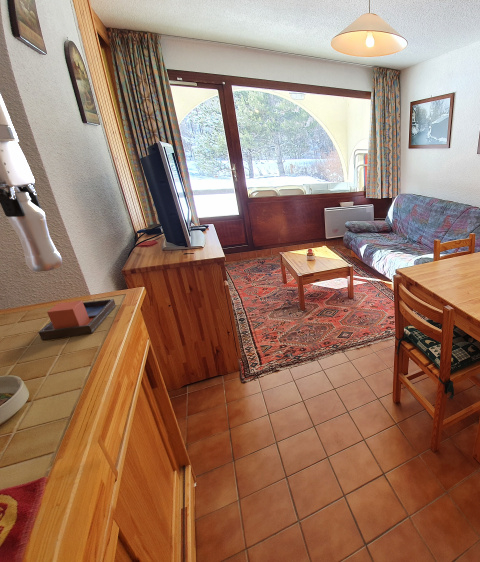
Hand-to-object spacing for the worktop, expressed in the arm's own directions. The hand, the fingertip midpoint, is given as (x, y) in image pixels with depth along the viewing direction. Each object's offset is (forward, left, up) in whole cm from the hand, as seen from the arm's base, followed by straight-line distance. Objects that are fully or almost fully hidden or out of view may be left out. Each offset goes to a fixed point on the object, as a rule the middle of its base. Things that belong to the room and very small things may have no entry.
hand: (24, 213), depth 77 cm
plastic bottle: (0, 0, -15) cm, 15 cm away
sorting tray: (+6, -7, -28) cm, 30 cm away
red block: (+6, -11, -28) cm, 30 cm away
